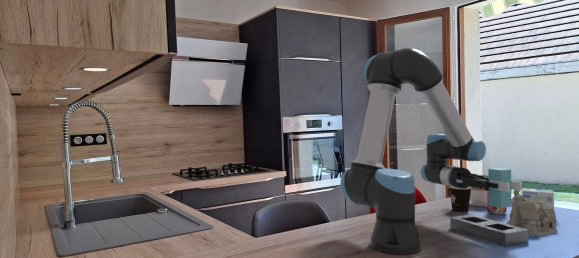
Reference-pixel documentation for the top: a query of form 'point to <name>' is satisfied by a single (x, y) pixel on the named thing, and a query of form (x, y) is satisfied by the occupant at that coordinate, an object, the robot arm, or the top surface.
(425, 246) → the top surface
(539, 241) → the top surface
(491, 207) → the soda can
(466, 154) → the robot arm
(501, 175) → the teal peg
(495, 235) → the grey block with holes
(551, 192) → the light bulb box
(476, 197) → the lidded bowl
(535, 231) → the ceramic cottage
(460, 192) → the coffee mug
